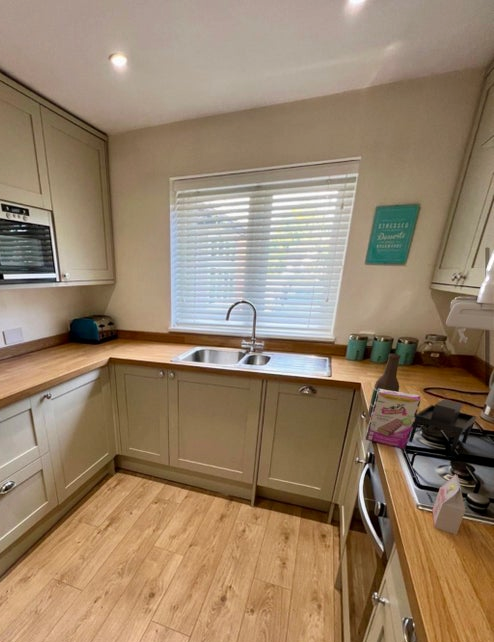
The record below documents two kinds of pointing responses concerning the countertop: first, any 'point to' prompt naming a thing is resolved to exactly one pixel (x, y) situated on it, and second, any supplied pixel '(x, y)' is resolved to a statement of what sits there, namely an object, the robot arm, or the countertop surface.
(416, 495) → the countertop surface
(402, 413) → the candy bar box
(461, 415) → the black tray stand
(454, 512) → the small gable carton
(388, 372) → the beer bottle
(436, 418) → the black box
